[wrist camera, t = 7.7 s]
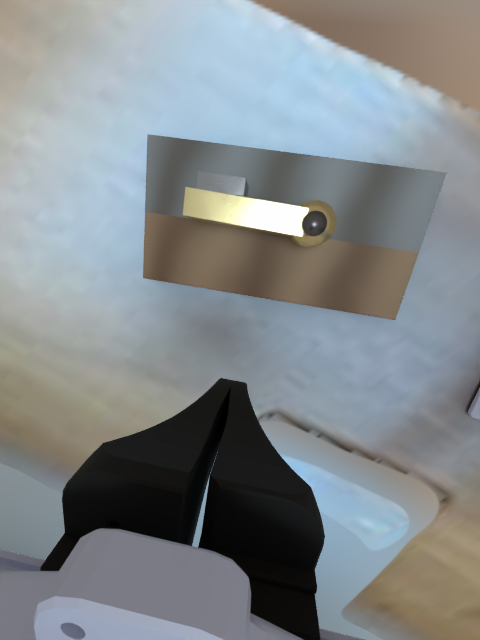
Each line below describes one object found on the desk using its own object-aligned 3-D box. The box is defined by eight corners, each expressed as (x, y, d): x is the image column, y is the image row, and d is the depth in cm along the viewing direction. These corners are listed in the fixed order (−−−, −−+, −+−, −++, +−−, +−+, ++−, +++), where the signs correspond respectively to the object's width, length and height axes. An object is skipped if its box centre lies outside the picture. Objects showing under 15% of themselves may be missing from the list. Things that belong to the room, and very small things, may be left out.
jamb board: (434, 177, 17) (446, 172, 16) (387, 315, 20) (395, 320, 19) (155, 141, 18) (147, 134, 17) (150, 276, 21) (143, 277, 20)
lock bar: (330, 211, 17) (343, 203, 14) (320, 250, 18) (330, 250, 15) (198, 188, 17) (184, 176, 14) (194, 227, 18) (180, 222, 15)
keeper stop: (248, 187, 17) (245, 177, 15) (246, 202, 18) (243, 195, 15) (207, 181, 17) (197, 171, 15) (205, 197, 18) (196, 189, 15)
